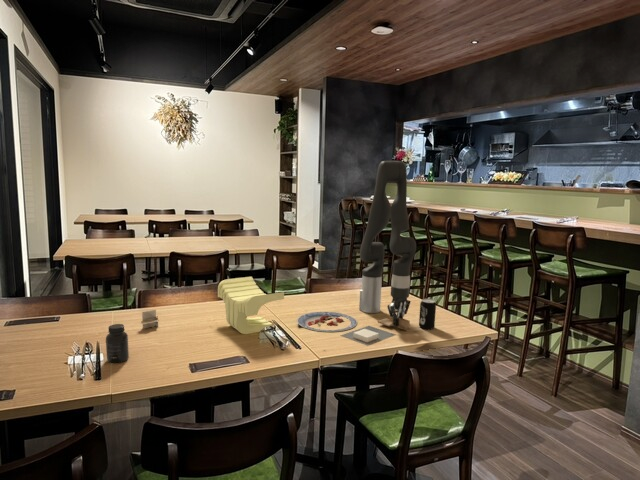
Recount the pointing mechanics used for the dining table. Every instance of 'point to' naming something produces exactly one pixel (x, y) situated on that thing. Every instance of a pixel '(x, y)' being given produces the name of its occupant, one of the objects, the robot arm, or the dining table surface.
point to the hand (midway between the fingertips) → (397, 325)
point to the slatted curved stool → (245, 303)
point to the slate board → (382, 333)
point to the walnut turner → (401, 324)
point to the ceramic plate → (325, 316)
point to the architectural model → (149, 319)
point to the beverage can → (427, 314)
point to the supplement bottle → (117, 344)
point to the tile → (365, 335)
